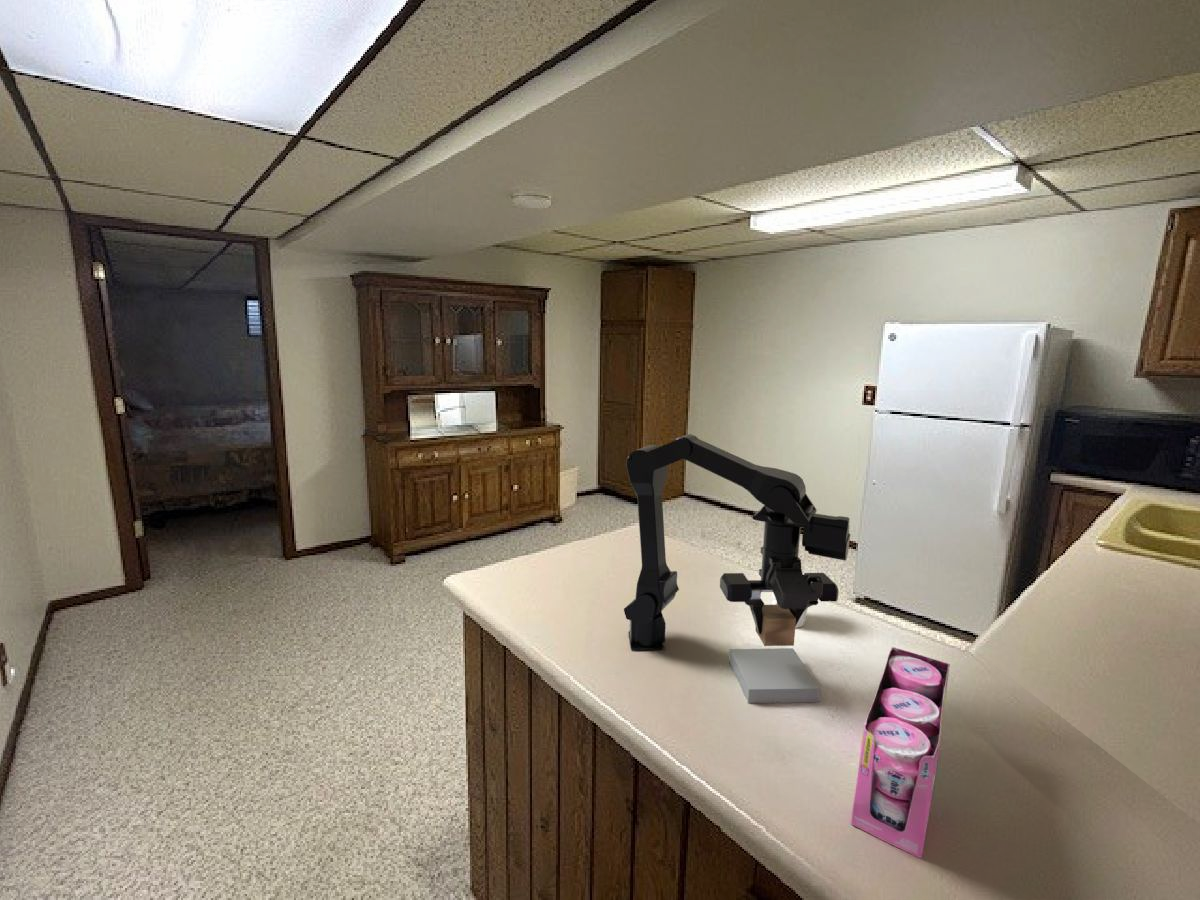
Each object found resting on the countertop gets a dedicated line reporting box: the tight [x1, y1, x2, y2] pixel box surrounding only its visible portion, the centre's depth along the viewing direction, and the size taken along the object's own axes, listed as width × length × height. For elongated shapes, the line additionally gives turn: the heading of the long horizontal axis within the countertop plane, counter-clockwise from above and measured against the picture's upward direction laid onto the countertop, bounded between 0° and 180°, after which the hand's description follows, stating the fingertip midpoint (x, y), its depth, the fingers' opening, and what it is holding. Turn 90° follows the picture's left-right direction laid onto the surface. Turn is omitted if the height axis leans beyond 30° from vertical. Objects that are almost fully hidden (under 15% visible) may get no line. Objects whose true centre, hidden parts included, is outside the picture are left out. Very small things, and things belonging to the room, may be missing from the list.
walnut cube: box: [755, 604, 796, 647], centre depth 92 cm, size 5×5×5 cm
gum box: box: [850, 646, 951, 859], centre depth 70 cm, size 24×8×14 cm, turn 144°
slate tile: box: [728, 647, 822, 704], centre depth 94 cm, size 12×12×2 cm
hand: (774, 632), depth 92 cm, fingers closed on walnut cube, 5 cm apart
